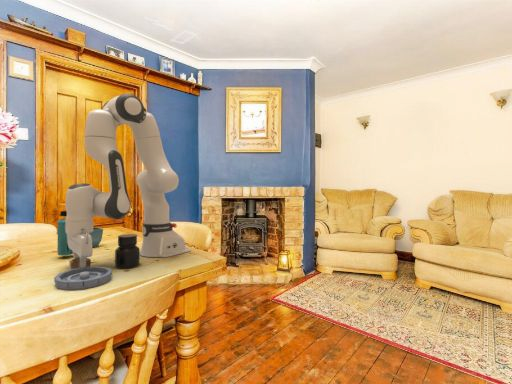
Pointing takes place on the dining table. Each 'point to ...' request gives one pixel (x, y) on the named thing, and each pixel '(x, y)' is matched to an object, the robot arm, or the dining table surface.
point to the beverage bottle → (63, 237)
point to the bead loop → (75, 263)
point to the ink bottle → (127, 252)
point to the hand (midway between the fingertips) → (79, 264)
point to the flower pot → (96, 236)
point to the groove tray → (82, 283)
